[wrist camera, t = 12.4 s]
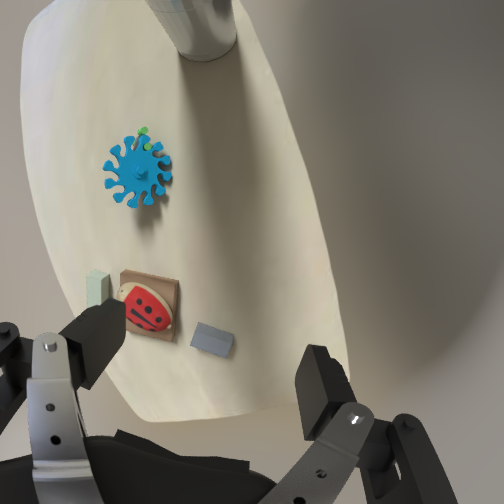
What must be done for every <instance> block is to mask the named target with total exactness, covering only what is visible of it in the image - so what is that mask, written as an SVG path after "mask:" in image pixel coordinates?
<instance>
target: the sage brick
mask: <svg viewBox="0 0 504 504" xmlns="http://www.w3.org/2000/svg"><path fill="white" fill-rule="evenodd" d="M108 298H109V274H108V273H105V272H101V271H98V270H94V271H92V272H90V273H89V274H87V307H88V308H89V307H92V306H95V305H99V306H100V305H101V304H102V303H103V302H104V301H105V300H107V299H108Z"/></svg>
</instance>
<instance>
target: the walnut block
mask: <svg viewBox="0 0 504 504" xmlns="http://www.w3.org/2000/svg"><path fill="white" fill-rule="evenodd" d="M128 282H136V283H140V284H143V285H145V286H148V287H149V288H151V289H153V290H154V291H155V292H157V293H158V294H159V295H160V296H161V297H162V298H163V299H164V300H165V301H166V303H167V304H168V305H169V307H170V309H171V312H172V316H173V319H172V323H171V325H172V326H171V328H170V329H168V328H167V329H165V330H163V331H159V332H152V331H147V330H144V329H142V328H140V327H138V326H136V325H134V324H133V323H132V322H130V321H129V320H128V319H127V318H126V330H127V331H131V332H135V333H138V334H142V335H146V336H150V337H154V338H158V339H162V340H166V341H170V342H171V341H172V339H173V337H174V335H175V321H176V305H177V292H178V280H174V279H169V278H164V277H159V276H155V275H150V274H145V273H140V272H136V271H131V270H127V269H126V270H125V271H123V272H122V273H120V287H121V286H122V285H123V284H125V283H128Z"/></svg>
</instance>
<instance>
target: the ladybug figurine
mask: <svg viewBox="0 0 504 504" xmlns="http://www.w3.org/2000/svg"><path fill="white" fill-rule="evenodd" d="M117 300H119V301H122V302H125V304H126V318H127V319H128V320H129V321H130V322H132V323H133V324H134V325H136V326H138V327H140V328H142V329H144V330H147V331H152V332H159V331H163V330H165V329H167V328H168V329H170V328H171V326H172V325H171V323H172V319H173V316H172V312H171V309H170V307H169V305H168V304H167V303H166V301H165V300H164V299H163V298H162V297H161V296H160V295H159V294H158V293H157V292H155V291H154V290H153V289H151V288H149V287H148V286H145V285H143V284H140V283H136V282H128V283H125V284H123V285H122V286H121V287H120V288H119V290H118V292H117Z"/></svg>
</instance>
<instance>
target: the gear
mask: <svg viewBox="0 0 504 504" xmlns="http://www.w3.org/2000/svg"><path fill="white" fill-rule="evenodd" d="M147 132H148V129H147V127H142V128H141V129H139V130H138V135H140V136H138V137H137V138H136V139H135V138H134V137H133V136H128V137H125V138H124V143H125V145H126V154H125V156H124V157H121V156H120V151H121V147H120V146H119V145H116V146H114V147H113V148H111V149H110V153H111V154H112V155H114V156H115V157H116V158H117V160H118V163H119V167H118V168H117V169H116V168H114V166H113V163H112V162H111V161H110V160H108V161H106V162H105V164H104V166H103V170H104V171H112V172H114V173H115V174H117V175H118V177H119V179H118V181H117V182H115V181H114V180H112V179H110V178H109V179H106V180H105V188H106V189H110V188H112V187H113V186H116V185H122V186H124V188H125V190H124V192H123V193H115V194H114V195H113V198H114V200H115V201H116V202H117V203H120V202H122V201H123V199H124V197H125V196H126V195H127V194H128V193H130V192H132V191H133V192H134V194H135V196H134V198H133V199H130V200H129V201H128V203H127V205H128V206H129V207H131V208H137V206H138V199H139V196H140V194H141V193H142V192H143V191H145V192H146V196H145V198H144V199H143V205H151V204H153V202H154V201H153V198H152V196H151V187H152V185H153V184H154V185H155V186H156V189H155V194H156V195H157V196H161V195H163V194H164V193H165V192H166V190H165V188H164V187H162V186H161V185H160V184H159V182H158V179H157V175H158V174H160V175H161V177H162V180H164V181H169V180H170V178H171V175H172V174H171V172H165V171H162V170H161V169H160V168H159V167H158V165H157V164H158V162H161V163H162V164H163V165H168V164H170V156H168V155H167V156H163V157H162V158H155V157H153V155H152V152H153V151H157V152H158V151H161V150H162V149H163V146H162V144H161V142H157V143H155V144H154V145H153V147H152V148H151V144H150V143H148V142H149V141H150V137H149V136H147V135H145V134H146V133H147ZM132 144H133V146H134V148H133V150H131V145H132Z"/></svg>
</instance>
